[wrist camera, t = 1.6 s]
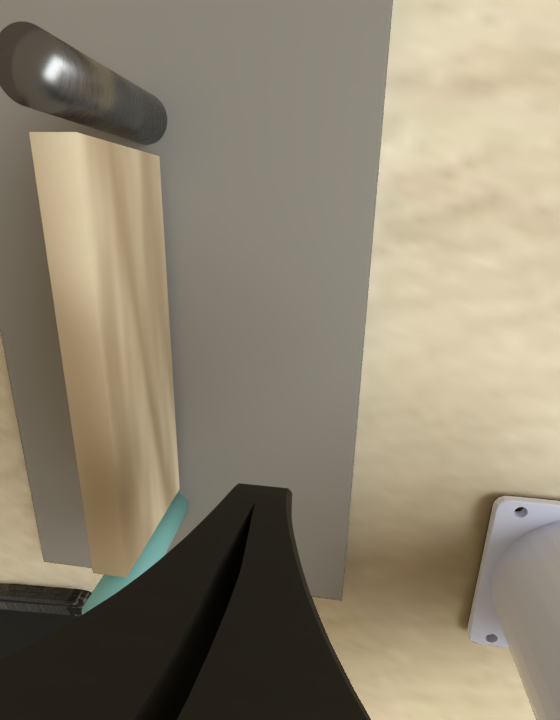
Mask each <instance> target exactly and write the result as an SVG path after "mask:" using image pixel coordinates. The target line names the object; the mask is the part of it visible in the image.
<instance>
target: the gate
mask: <svg viewBox="0 0 560 720" xmlns="http://www.w3.org/2000/svg"><path fill="white" fill-rule="evenodd" d="M29 136H30V142H31V149H32V156H33V163H34V170H35V177H36V184H37V191H38V198H39V204H40V211H41V218H42V225H43V232H44V239H45V246H46V253H47V260H48V267H49V273H50V280H51V287H52V294H53V301H54V308H55V315H56V322H57V329H58V335H59V342H60V349H61V356H62V363H63V370H64V377H65V384H66V391H67V397H68V404H69V411H70V418H71V425H72V432H73V439H74V446H75V453H76V459H77V466H78V473H79V480H80V487H81V494H82V501H83V508H84V515H85V522H86V528H87V535H88V542H89V549H90V556H91V563H92V570H93V573H96V574H104V575H112V576H119V577H127V576H128V575H129V573H130V571H131V570H132V568H133V566H134V565H135V563H136V561H137V560H138V558H139V556H140V555H141V553H142V551H143V550H144V548H145V546H146V545H147V543H148V541H149V540H150V538H151V536H152V535H153V533H154V531H155V529H156V528H157V526H158V524H159V523H160V521H161V519H162V518H163V516H164V514H165V513H166V511H167V509H168V508H169V506H170V504H171V503H172V501H173V499H174V498H175V496H176V494H177V493H178V491H179V489H180V486H179V469H178V453H177V437H176V420H175V404H174V387H173V371H172V355H171V338H170V322H169V306H168V289H167V273H166V256H165V240H164V224H163V207H162V191H161V174H160V158H159V156H157V155H153V154H150V153H147V152H143V151H140V150H136V149H133V148H129V147H126V146H122V145H119V144H116V143H112V142H109V141H105V140H102V139H98V138H95V137H91V136H88V135H84V134H81V133H78V132H29Z"/></svg>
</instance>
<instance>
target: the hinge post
mask: <svg viewBox="0 0 560 720" xmlns="http://www.w3.org/2000/svg"><path fill="white" fill-rule="evenodd" d="M0 86H1V88H2V89H3V91H4V92H5V93H6V94H7V95H8V96H9V97H10V98H11V99H12V100H13V101H15V102H16V103H18V104H20V105H22V106H25V107H28V108H31V109H34V110H38V111H41V112H44V113H47V114H50V115H53V116H56V117H59V118H62V119H65V120H68V121H72V122H75V123H78V124H81V125H84V126H87V127H90V128H93V129H96V130H99V131H102V132H106V133H109V134H112V135H115V136H118V137H121V138H124V139H127V140H130V141H133V142H136V143H140V144H143V145H150V144H154V143H156V142H157V141H159V140H160V139H161V138H162V136H163V135H164V133H165V131H166V127H167V114H166V110H165V108H164V106H163V104H162V103H161V101H160V100H159V99H158V98H157V97H155V96H154V95H152V94H151V93H149V92H147V91H145V90H144V89H142V88H140V87H139V86H137V85H135V84H134V83H132V82H130V81H129V80H127V79H125V78H124V77H122V76H120V75H119V74H117V73H115V72H114V71H112V70H110V69H109V68H107V67H105V66H104V65H102V64H100V63H99V62H97V61H95V60H94V59H92V58H90V57H89V56H87V55H85V54H84V53H82V52H80V51H79V50H77V49H75V48H74V47H72V46H70V45H69V44H67V43H65V42H64V41H62V40H60V39H59V38H57V37H55V36H54V35H52V34H50V33H49V32H47V31H45V30H44V29H42V28H40V27H38V26H37V25H35V24H32V23H29V22H23V21H20V22H14V23H11V24H9V25H8V26H6V27H5V28H4V29H3V30H2V31H1V32H0Z"/></svg>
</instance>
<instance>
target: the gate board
mask: <svg viewBox="0 0 560 720" xmlns="http://www.w3.org/2000/svg"><path fill="white" fill-rule="evenodd" d="M392 5H393V0H0V32H1V31H2V30H3V29H4V28H5V27H6V26H8V25H9V24H11V23H14V22H20V21H23V22H29V23H32V24H35V25H37V26H38V27H40V28H42V29H44V30H45V31H47V32H49V33H50V34H52V35H54V36H55V37H57V38H59V39H60V40H62V41H64V42H65V43H67V44H69V45H70V46H72V47H74V48H75V49H77V50H79V51H80V52H82V53H84V54H85V55H87V56H89V57H90V58H92V59H94V60H95V61H97V62H99V63H100V64H102V65H104V66H105V67H107V68H109V69H110V70H112V71H114V72H115V73H117V74H119V75H120V76H122V77H124V78H125V79H127V80H129V81H130V82H132V83H134V84H135V85H137V86H139V87H140V88H142V89H144V90H145V91H147V92H149V93H151V94H152V95H154V96H155V97H157V98H158V99H159V100H160V101H161V103H162V104H163V106H164V108H165V110H166V114H167V127H166V131H165V133H164V135H163V136H162V138H161V139H160V140H159V141H157V142H156V143H154V144H150V145H143V144H140V143H136V142H133V141H130V140H127V139H124V138H121V137H118V136H115V135H112V134H109V133H106V132H102V131H99V130H96V129H93V128H90V127H87V126H84V125H81V124H78V123H75V122H72V121H68V120H65V119H62V118H59V117H56V116H53V115H50V114H47V113H44V112H41V111H38V110H34V109H31V108H28V107H25V106H22V105H20V104H18V103H16V102H15V101H13V100H12V99H11V98H10V97H9V96H8V95H7V94H6V93H5V92H4V91H3V89H2V88H1V86H0V331H1V336H2V341H3V347H4V352H5V357H6V363H7V368H8V373H9V379H10V384H11V389H12V395H13V400H14V405H15V410H16V416H17V421H18V426H19V432H20V437H21V442H22V448H23V453H24V458H25V464H26V469H27V474H28V480H29V485H30V490H31V496H32V501H33V506H34V512H35V517H36V522H37V527H38V533H39V538H40V543H41V549H42V554H43V559H44V562H50V563H58V564H65V565H73V566H81V567H88V568H92V563H91V556H90V549H89V542H88V535H87V528H86V522H85V515H84V508H83V501H82V494H81V487H80V480H79V473H78V466H77V459H76V453H75V446H74V439H73V432H72V425H71V418H70V411H69V404H68V397H67V391H66V384H65V377H64V370H63V363H62V356H61V349H60V342H59V335H58V329H57V322H56V315H55V308H54V301H53V294H52V287H51V280H50V273H49V267H48V260H47V253H46V246H45V239H44V232H43V225H42V218H41V211H40V204H39V198H38V191H37V184H36V177H35V170H34V163H33V156H32V149H31V142H30V136H29V132H78V133H81V134H84V135H88V136H91V137H95V138H98V139H102V140H105V141H109V142H112V143H116V144H119V145H122V146H126V147H129V148H133V149H136V150H140V151H143V152H147V153H150V154H153V155H157V156H159V158H160V174H161V191H162V207H163V224H164V240H165V256H166V273H167V289H168V306H169V322H170V338H171V355H172V371H173V387H174V404H175V420H176V437H177V453H178V469H179V486H180V489H179V491H178V492H179V493H180V494H182V495H183V496H184V497H185V499H186V500H187V503H188V512H187V514H186V516H185V518H184V520H183V522H182V523H181V525H180V527H179V529H178V531H177V533H176V535H175V537H174V539H173V541H172V542H171V544H170V546H169V548H168V550H167V552H166V554H167V553H168V552H169V551H170V550H171V549H172V548H174V547H175V546H176V545H177V544H178V543H179V542H180V541H182V540H183V539H184V538H185V537H186V536H187V535H188V534H189V533H190V532H191V531H192V530H193V529H194V528H195V527H196V526H197V525H198V524H199V523H200V522H201V521H202V520H203V519H204V518H205V517H206V516H207V515H208V514H209V513H210V512H211V511H212V510H213V509H214V508H215V507H216V506H217V505H218V504H219V503H220V502H221V501H222V500H223V499H224V497H225V496H226V495H227V494H228V493H229V492H230V491H231V490H232V489H233V488H234V487H235V486H236V485H237V484H238V483H241V484H251V485H261V486H271V487H281V488H288V489H289V490H290V491H291V492H292V525H293V531H294V536H295V541H296V545H297V550H298V554H299V558H300V562H301V565H302V569H303V572H304V575H305V578H306V582H307V585H308V588H309V591H310V594H311V596H312V597H318V598H326V599H333V600H341V601H342V594H343V582H344V570H345V558H346V547H347V535H348V523H349V511H350V500H351V488H352V476H353V464H354V453H355V441H356V429H357V417H358V405H359V394H360V382H361V370H362V358H363V347H364V335H365V323H366V311H367V300H368V288H369V276H370V264H371V252H372V241H373V229H374V217H375V205H376V194H377V182H378V170H379V158H380V147H381V135H382V123H383V111H384V99H385V88H386V76H387V64H388V52H389V41H390V29H391V17H392ZM166 554H165V555H166Z"/></svg>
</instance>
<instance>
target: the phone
mask: <svg viewBox="0 0 560 720" xmlns="http://www.w3.org/2000/svg"><path fill="white" fill-rule="evenodd" d="M91 594H92V593H91V592H89V591H85V590H78V589H66V588H53V587H40V586H27V585H14V584H2V583H0V660H1V659H3V658H5V657H7V656H9V655H11V654H13V653H15V652H17V651H19V650H20V649H22V648H24V647H26V646H28V645H30V644H32V643H34V642H36V641H37V640H39V639H41V638H43V637H45V636H47V635H49V634H50V633H52V632H54V631H56V630H57V629H59V628H61V627H63V626H65V625H66V624H68V623H70V622H71V621H73V620H75V619H76V618H78V617H79V616H81V615H82V608H83V606H84V604H85V603H86V601H87V600H88V598H89V597H90V595H91Z"/></svg>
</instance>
